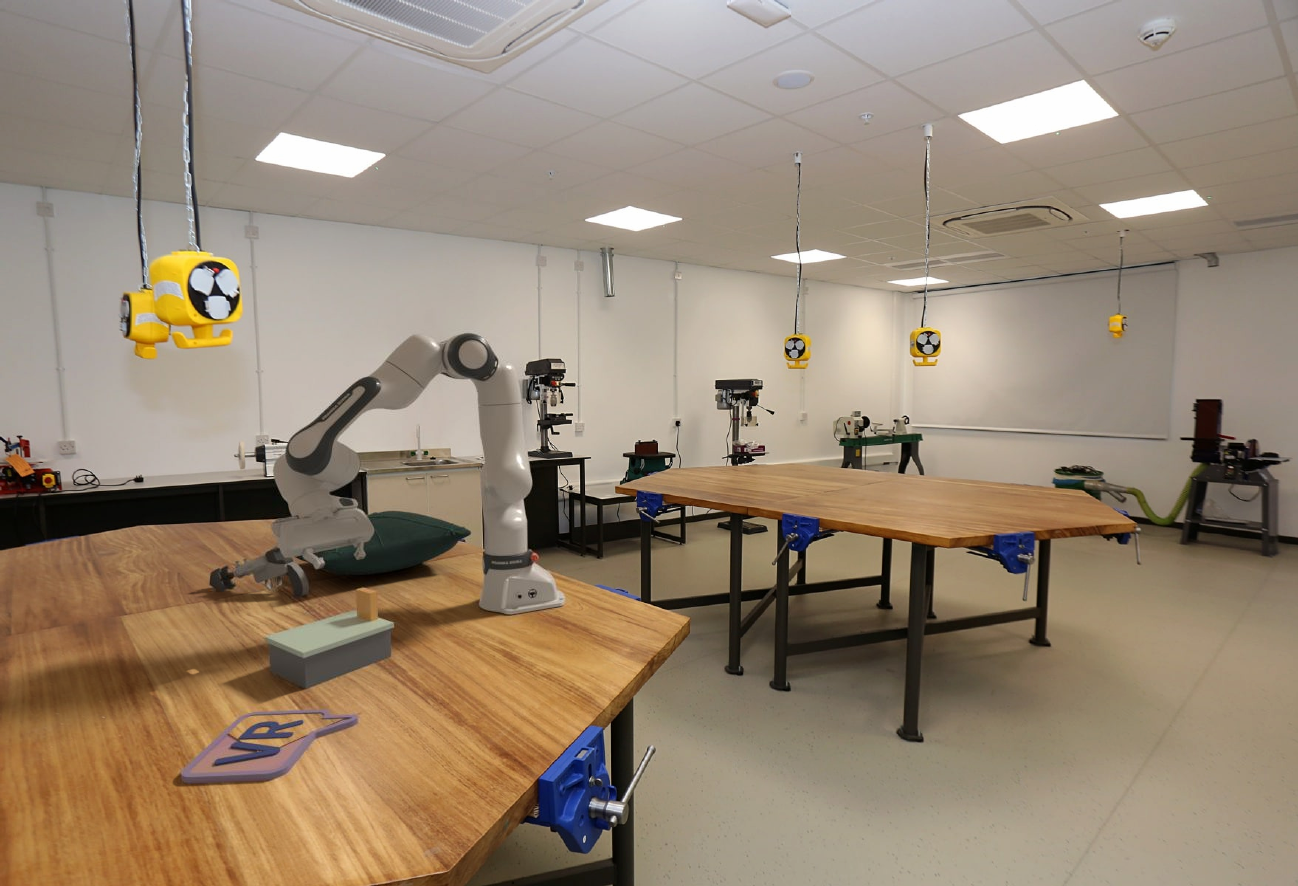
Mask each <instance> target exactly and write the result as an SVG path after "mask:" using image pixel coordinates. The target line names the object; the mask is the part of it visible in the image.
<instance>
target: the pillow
mask: <svg viewBox="0 0 1298 886" xmlns="http://www.w3.org/2000/svg"><path fill="white" fill-rule="evenodd" d="M366 516H367V517H368V518H369V520H370V522H371V523H372V525H373V527H374V534H373V536H372V537H371V539H370V540H369V541H368V542H364V546H363V550H364V552H365V554H366V555H365V557H364V558H363V559H359V560H357V559H356V557H355V556H354V553H355V552H356V550H357V547H356V548H355V547H354V545H349V546H344V547H339V548H334V549H330V550H325V551H320V552H315V553H313V554H314V555H315V556H317V557H318V558H321V557H322V558H323V561H324V562H325V566H323V568H320V569H322V570H323V571H326V572H328V573H330V574H331V573H332V574H338V575H351V576H352V575H354V576H356V575H357V576H360V575H361V576H363V575H375V574H376V575H377V574H384V573H388V572H394V571H399V570H403V569H406V568H410V567H414V566H416V565H420V564H424V563H425V562H428V561H430V560H432V559H435V558H437V557H439V556H441V555H443V554H445V553H447V552H449V551H450V550H451V549H453V548H454V547H455V546H456V545H457V544H458V542H459V541H462V540H463V539H465V538H467V537H469V536H471V534H472V531H471V530H469V529H468V528H467V527H465V526H459V525H458V524H454V523H451V522H448V521H446V520H443V519H441V518H437V517H432V516H429V515H425V514H420V513H416V512H411V511H403V510H402V511H399V510H385V511H379V512H372V513H370V514H366ZM294 558H295V559H297V560H300V561H302V562H306V563H308V564H311V565H313V563H310V562H309V561H307V560H305V559H304V558H303V556H302V555H301V556H296V557H294Z"/></svg>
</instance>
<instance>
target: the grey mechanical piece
mask: <svg viewBox="0 0 1298 886" xmlns="http://www.w3.org/2000/svg"><path fill="white" fill-rule="evenodd" d="M242 561H243V563H242V564H241V562H240V560H236V561H235V562H234V563H235V566H234V568H233V569H232V570H231V571H232V572H231V571H230V572H229V570H230V567H229V565H225V566H223V567H221V568H220V567H218V568H216V569H215V570H212V571H211V573H210V575H209V584H208V585H209V586H210V587H212V588H213V589H214V590H215V591H216V592H224V591H227V590H229V589H233V588H235V587H237V584H236V582H233V579H234V578H236V579H243V577H247V576H251V575H253V579H254V581H255V582H256V583H257V584H260V583H262V582H264V586H265V588H266V589H267V590H268V591H272V590H273V591H274V590H277V589H279V588H280V587H281V586H282V585H283V580H282V577H281V576H283V575H284V574H285V576H287V578H288V580H289V582H290V585H291V589H292V591H293V597H294V598H301V597H304V596H306V595H308V593H309V591H310V584H309V581H308V577H307V576H306V574H305V572H304V570H303V569H302V567H301V566H300V565H299V564H298V563H297V562H296V561H294V558H293V557H291V558H287V557H285V556H283V555H282V553H281V551H280V548H279V545H276V546H274V547H272V548H270V549H269V550H266V552H265V553H264V554H262V555H261V556H259V557H257V558H253V559H252V560H249V561H248V558H244V559H242ZM273 581H274V584H273ZM269 582H270V583H269ZM277 583H278V585H277ZM273 586H274V588H273Z"/></svg>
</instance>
